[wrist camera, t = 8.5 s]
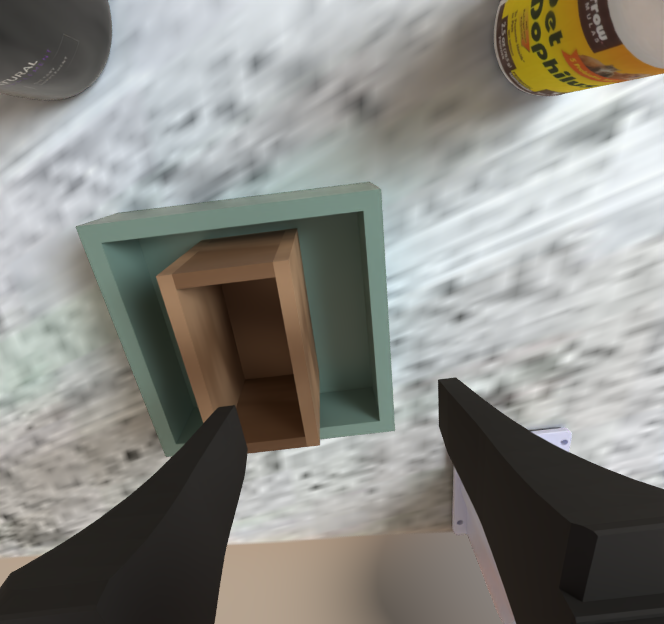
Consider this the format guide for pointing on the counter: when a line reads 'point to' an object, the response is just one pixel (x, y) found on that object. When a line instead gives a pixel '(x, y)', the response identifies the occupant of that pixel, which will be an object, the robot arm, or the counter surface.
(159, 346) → the green crate
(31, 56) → the supplement bottle
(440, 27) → the counter surface
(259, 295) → the walnut crate
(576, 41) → the supplement bottle
